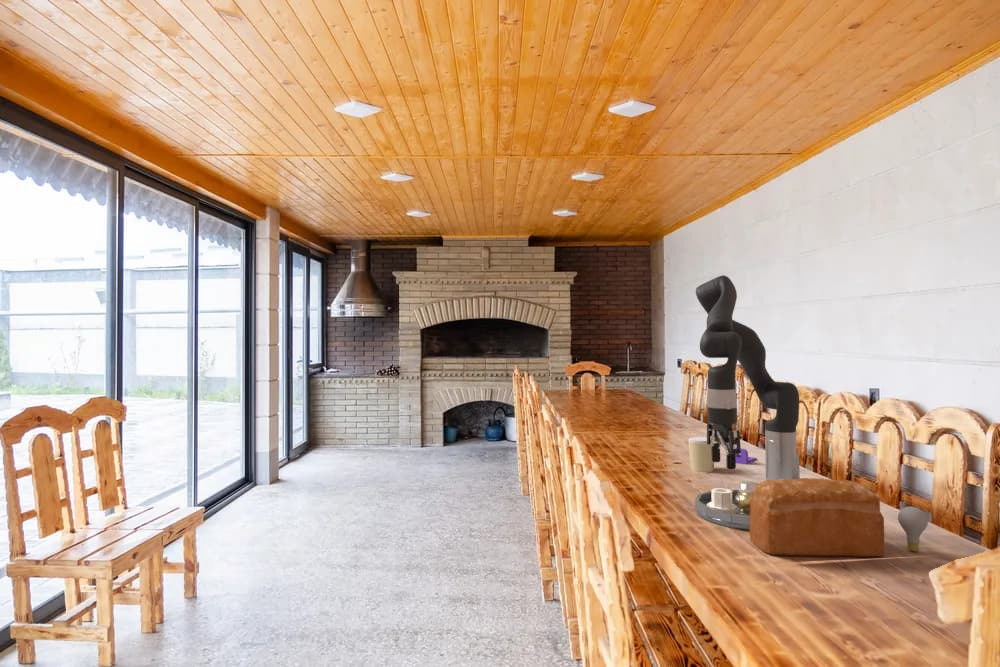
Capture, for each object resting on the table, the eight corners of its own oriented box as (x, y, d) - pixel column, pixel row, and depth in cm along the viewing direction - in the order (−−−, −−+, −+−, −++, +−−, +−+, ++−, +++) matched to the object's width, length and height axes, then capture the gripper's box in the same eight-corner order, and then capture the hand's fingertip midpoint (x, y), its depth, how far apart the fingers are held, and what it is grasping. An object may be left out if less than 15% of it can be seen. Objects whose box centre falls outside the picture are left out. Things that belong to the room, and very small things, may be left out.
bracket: (746, 468, 214) (745, 449, 215) (727, 465, 219) (727, 447, 219) (757, 463, 223) (757, 445, 223) (739, 460, 228) (739, 443, 228)
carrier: (768, 500, 171) (768, 476, 171) (828, 530, 144) (827, 502, 144) (680, 503, 168) (680, 479, 168) (724, 534, 141) (724, 505, 141)
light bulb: (929, 557, 125) (928, 511, 125) (899, 552, 128) (898, 508, 128) (927, 549, 130) (926, 505, 130) (897, 545, 133) (897, 502, 133)
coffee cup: (719, 474, 203) (719, 441, 203) (693, 475, 203) (693, 441, 203) (710, 469, 212) (710, 436, 212) (685, 469, 212) (684, 436, 212)
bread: (744, 536, 140) (744, 472, 140) (855, 538, 138) (854, 473, 138) (767, 558, 126) (766, 486, 126) (891, 560, 124) (890, 487, 125)
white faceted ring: (703, 507, 159) (703, 487, 159) (728, 506, 159) (728, 486, 159) (715, 515, 151) (715, 494, 151) (741, 514, 152) (741, 493, 152)
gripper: (697, 403, 162) (698, 460, 162) (721, 409, 148) (722, 472, 148) (722, 402, 163) (724, 459, 163) (749, 408, 149) (750, 470, 148)
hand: (723, 465), depth 155 cm, fingers open, 8 cm apart
